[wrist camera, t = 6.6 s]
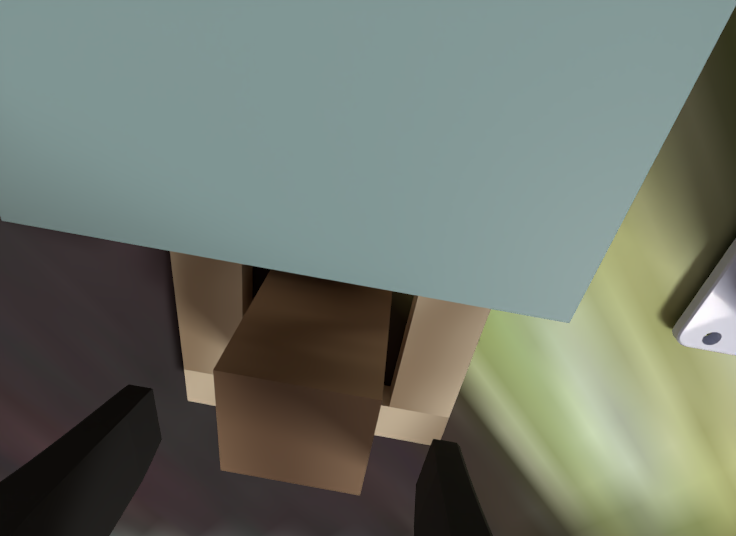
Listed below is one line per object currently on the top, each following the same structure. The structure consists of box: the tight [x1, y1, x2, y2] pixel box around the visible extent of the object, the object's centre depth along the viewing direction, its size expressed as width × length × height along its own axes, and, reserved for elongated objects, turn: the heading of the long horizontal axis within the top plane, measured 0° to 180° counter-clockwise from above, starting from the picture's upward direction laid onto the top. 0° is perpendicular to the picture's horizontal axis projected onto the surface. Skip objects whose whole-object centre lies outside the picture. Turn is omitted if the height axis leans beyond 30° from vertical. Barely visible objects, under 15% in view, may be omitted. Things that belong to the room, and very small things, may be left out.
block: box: [213, 269, 392, 495], centre depth 13 cm, size 4×4×5 cm
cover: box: [0, 0, 736, 323], centre depth 7 cm, size 8×5×6 cm, turn 82°
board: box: [170, 251, 491, 445], centre depth 13 cm, size 10×16×1 cm, turn 172°
